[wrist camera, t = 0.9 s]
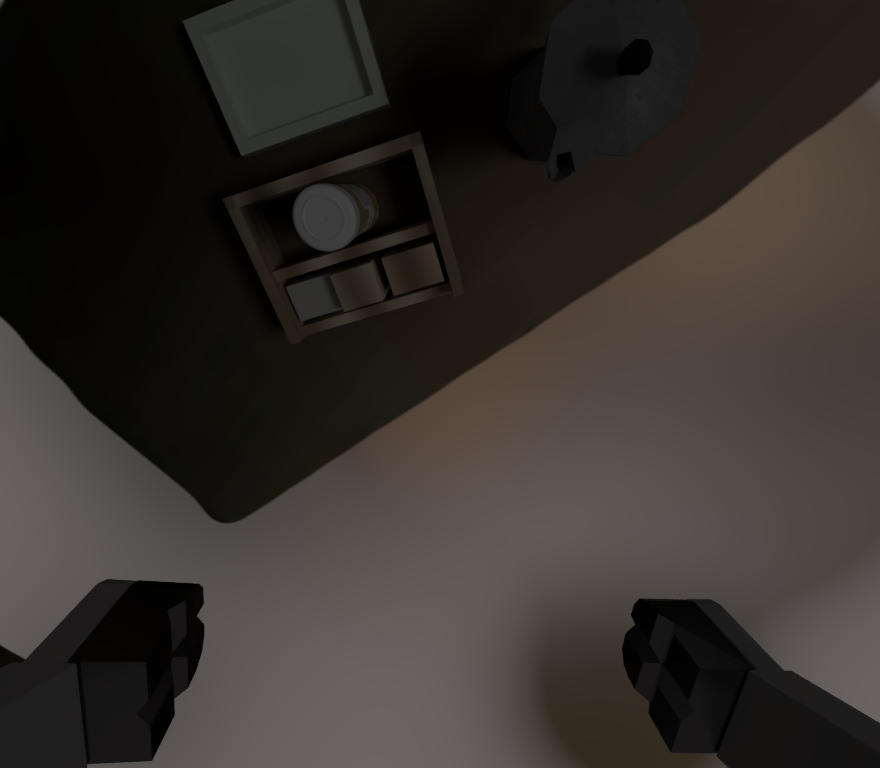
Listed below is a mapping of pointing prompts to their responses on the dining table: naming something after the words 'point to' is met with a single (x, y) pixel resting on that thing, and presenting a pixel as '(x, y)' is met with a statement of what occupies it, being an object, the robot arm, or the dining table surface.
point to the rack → (280, 274)
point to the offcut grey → (314, 295)
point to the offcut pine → (360, 282)
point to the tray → (288, 68)
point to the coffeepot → (602, 81)
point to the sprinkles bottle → (334, 214)
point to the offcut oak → (413, 266)
